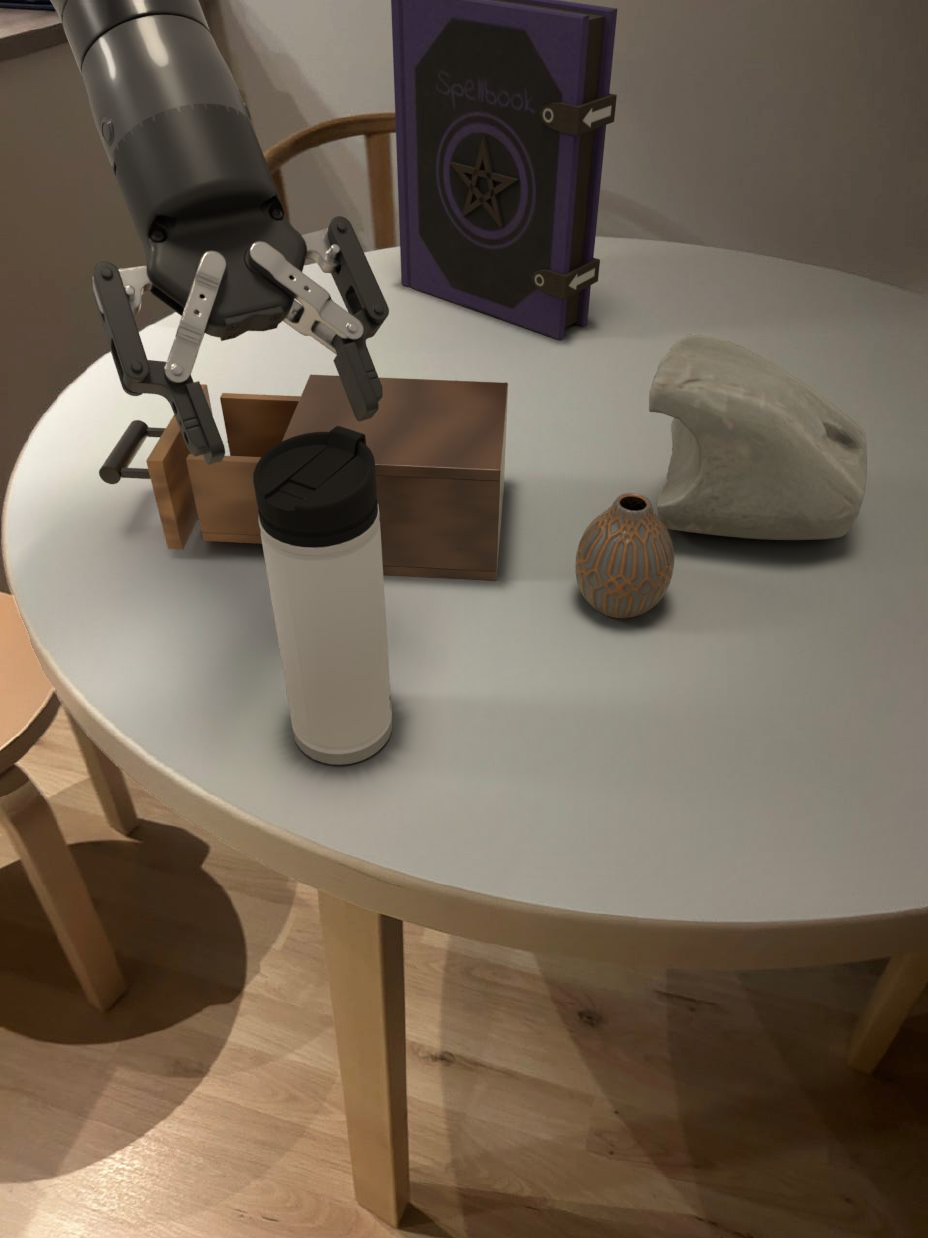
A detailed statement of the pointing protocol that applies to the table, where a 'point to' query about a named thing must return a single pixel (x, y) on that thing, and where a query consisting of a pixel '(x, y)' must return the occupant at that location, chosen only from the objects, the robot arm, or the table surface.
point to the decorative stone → (754, 447)
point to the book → (502, 153)
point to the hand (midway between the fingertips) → (295, 436)
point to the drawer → (207, 469)
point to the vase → (625, 558)
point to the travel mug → (327, 591)
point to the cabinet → (427, 469)
